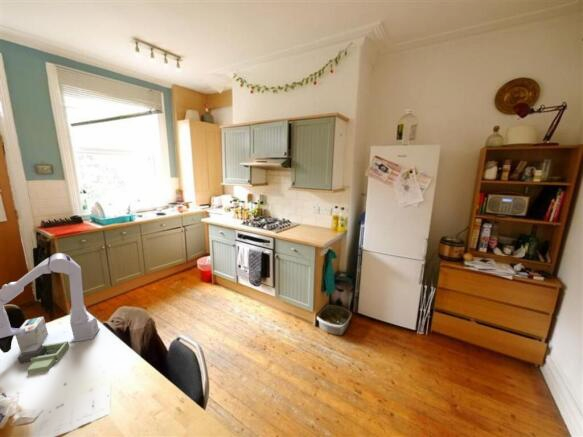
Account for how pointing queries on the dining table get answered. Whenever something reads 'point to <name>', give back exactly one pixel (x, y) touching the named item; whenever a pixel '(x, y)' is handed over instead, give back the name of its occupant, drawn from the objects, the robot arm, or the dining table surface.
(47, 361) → the green tray
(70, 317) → the robot arm
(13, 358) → the dining table surface
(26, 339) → the light bulb box
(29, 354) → the chute block
